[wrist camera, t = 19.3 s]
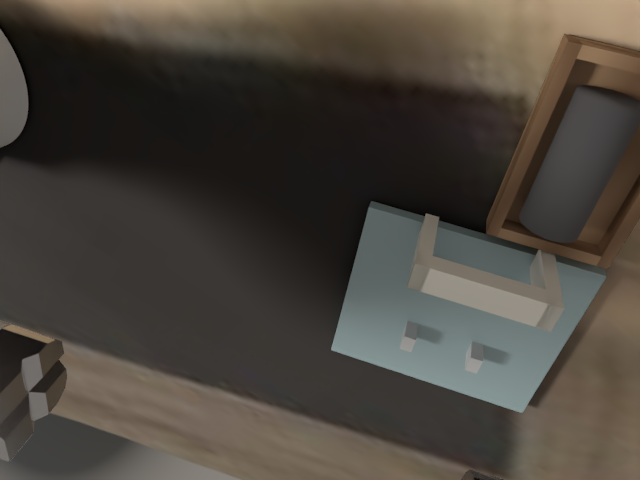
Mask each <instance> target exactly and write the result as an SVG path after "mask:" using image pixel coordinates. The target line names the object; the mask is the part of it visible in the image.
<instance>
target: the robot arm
mask: <svg viewBox="0 0 640 480" xmlns="http://www.w3.org/2000/svg"><path fill="white" fill-rule="evenodd" d="M27 115H28V92H27V86H26V82H25V78H24V74H23V71H22V68H21V66H20V63H19V61H18V58H17V56H16V54H15V52H14V50H13V48H12V47H11V45H10V43H9V41H8V40H7V38H6V37H5V35H4V34H3V32H2V31H1V29H0V148H1V147H3V146H6V145H8V144H10V143H11V142H13V141H14V140H15V139H16V138H17V137H18V136H19V135H20V133H21V132H22V130H23V128H24V126H25V123H26V120H27ZM63 354H64V350H63V345H62V341H59V340H56V339H53V338H50V337H47V336H44V335H41V334H38V333H36V332H33V331H30V330H27V329H24V328H21V327H18V326H15V325H12V324H9V323H6V322H3V321H0V459H2V460H5V461H9V462H10V461H11V460H12V458H13V457H14V456H15V454H16V453H17V452H18V451H19V450H20V448H21V447H22V446H23V445H24V444H25V442H26V441H27V440H28V439H29V438H30V436H31V435H32V434H33V433H34V421H35V420H37V419H39V418H41V417H43V416H45V415H47V414H49V413H50V412H51V411H52V409H53V408H54V407H55V405H56V404H57V403H58V401H59V399H60V397H61V395H62V393H63V391H64V389H65V385H66V380H67V373H66V368H65V367H64V365H63V364H62V363H61V362H60V360H59V358H60V357H61V356H62V355H63ZM461 480H503V479H500V478H496V477H493V476H490V475H486V474H483V473H480V472H476V471H473V470H469V471H467V472H466V473H465V474H464V476H463V478H462V479H461Z"/></svg>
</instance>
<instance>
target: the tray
mask: <svg viewBox="0 0 640 480" xmlns="http://www.w3.org/2000/svg"><path fill="white" fill-rule="evenodd" d="M581 85H590V86H598V87H603V88H607V89H611V90H614V91H617V92H620V93H623V94H626V95H628V96H631V97H633V98H635V99H637V100H639V101H640V52H639V51H634V50H630V49H626V48H622V47H618V46H613V45H609V44H605V43H601V42H597V41H592V40H588V39H584V38H580V37H576V36H571V35H567V34H564V36H563V38H562V41H561V43H560V46H559V48H558V50H557V53H556V55H555V58H554V60H553V62H552V65H551V67H550V69H549V72H548V74H547V77H546V79H545V81H544V84H543V86H542V88H541V91H540V93H539V96H538V98H537V100H536V103H535V105H534V107H533V110H532V112H531V115H530V117H529V119H528V122H527V124H526V127H525V129H524V131H523V134H522V136H521V138H520V141H519V143H518V146H517V148H516V150H515V153H514V155H513V157H512V160H511V162H510V165H509V167H508V169H507V172H506V174H505V177H504V179H503V181H502V184H501V186H500V188H499V191H498V193H497V196H496V198H495V200H494V203H493V205H492V207H491V210H490V212H489V215H488V217H487V219H486V234H488V235H491V236H495V237H498V238H502V239H505V240H509V241H512V242H515V243H519V244H522V245H526V246H529V247H533V248H536V249H540V250H543V251H546V252H550V253H553V254H557V255H560V256H564V257H567V258H571V259H574V260H577V261H581V262H584V263H588V264H591V265H595V266H598V267H602V268H605V269H608V268H609V267H610V265H611V263H612V262H613V260H614V259H615V257H616V255H617V254H618V252H619V250H620V249H621V247H622V246H623V244H624V242H625V241H626V239H627V237H628V236H629V234H630V233H631V231H632V229H633V228H634V226H635V224H636V223H637V221H638V220H639V218H640V124H639V126H638V128H637V130H636V132H635V134H634V135H633V137H632V139H631V141H630V143H629V145H628V146H627V148H626V150H625V152H624V154H623V156H622V158H621V159H620V161H619V163H618V165H617V167H616V169H615V171H614V172H613V174H612V176H611V178H610V180H609V182H608V184H607V185H606V187H605V189H604V191H603V193H602V195H601V196H600V198H599V200H598V202H597V204H596V206H595V208H594V209H593V211H592V213H591V215H590V217H589V219H588V221H587V222H586V224H585V226H584V228H583V230H582V232H581V233H580V235H579V237H578V239H577V240H576V241H574V242H570V243H561V242H555V241H551V240H548V239H545V238H542V237H540V236H538V235H536V234H534V233H533V232H531V231H530V230H528V229H527V228H526V227H525V226H524V225H523V224H522V223H521V221H520V219H519V215H520V212H521V210H522V208H523V206H524V203H525V201H526V199H527V197H528V194H529V192H530V190H531V188H532V186H533V183H534V181H535V179H536V177H537V174H538V172H539V170H540V168H541V166H542V163H543V161H544V159H545V157H546V154H547V152H548V150H549V148H550V145H551V143H552V141H553V139H554V137H555V134H556V132H557V130H558V128H559V125H560V123H561V121H562V119H563V117H564V114H565V112H566V110H567V108H568V105H569V103H570V101H571V99H572V96H573V94H574V92H575V90H576V88H577V87H578V86H581Z"/></svg>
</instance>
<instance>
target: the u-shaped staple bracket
mask: <svg viewBox="0 0 640 480" xmlns="http://www.w3.org/2000/svg"><path fill="white" fill-rule="evenodd" d="M438 221H439V217H437V216H434V215H430V214H427V213H426V215H425V218H424V221H423V224H422V227H421V230H420V233H419V236H418V240H417V245H416V249H415V254H414V258H413V263H412V267H411V272H410V276H409V281H408V285H407V288H410V289H414V290H417V291H420V292H423V293H427V294H430V295H433V296H436V297H440V298H443V299H446V300H449V301H453V302H456V303H459V304H462V305H466V306H469V307H472V308H475V309H478V310H482V311H485V312H488V313H491V314H495V315H498V316H501V317H504V318H508V319H511V320H514V321H517V322H521V323H524V324H527V325H530V326H534V327H537V328H540V329H543V330H547V331H550V332H551V331H552V329H553V328H554V326H555V324H556V322H557V321H558V319H559V317H560V316H561V314H562V312H563V311H564V304H563V298H562V292H561V287H560V281H559V275H558V269H557V264H556V258H555V254H553V253H550V252H546V251H543V250H540V249H539V250H538V252H537V254H536V256H535V258H534V260H533V262H532V264H531V266H530V279H531V285H529V284H525V283H522V282H519V281H515V280H512V279H509V278H505V277H502V276H499V275H495V274H492V273H489V272H485V271H482V270H479V269H475V268H472V267H469V266H465V265H462V264H458V263H455V262H452V261H448V260H445V259H442V258H438V257H435V256H433V250H434V244H435V239H436V233H437V227H438Z"/></svg>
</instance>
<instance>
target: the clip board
mask: <svg viewBox="0 0 640 480" xmlns="http://www.w3.org/2000/svg"><path fill="white" fill-rule="evenodd" d="M424 218H425V216H422V215H418V214H415V213H411V212H408V211H404V210H401V209H397V208H394V207H391V206H387V205H384V204H380V203H377V202H373V201H371V203H370V205H369V208H368V212H367V216H366V220H365V223H364V227H363V231H362V235H361V239H360V242H359V246H358V250H357V254H356V258H355V261H354V265H353V269H352V273H351V276H350V280H349V284H348V288H347V292H346V295H345V299H344V303H343V307H342V311H341V314H340V318H339V322H338V326H337V330H336V333H335V337H334V341H333V345H332V348H331V350H333V351H336V352H339V353H342V354H345V355H348V356H351V357H354V358H357V359H360V360H363V361H366V362H369V363H372V364H375V365H378V366H381V367H384V368H387V369H390V370H393V371H396V372H399V373H402V374H405V375H408V376H411V377H414V378H417V379H420V380H423V381H427V382H430V383H433V384H436V385H439V386H442V387H445V388H448V389H451V390H454V391H457V392H460V393H463V394H466V395H469V396H472V397H475V398H478V399H481V400H484V401H487V402H490V403H493V404H496V405H499V406H502V407H505V408H508V409H511V410H514V411H517V412H520V413H522V412H523V411H524V409H525V408H526V406H527V404H528V403H529V401H530V400H531V398H532V396H533V395H534V393H535V391H536V390H537V388H538V387H539V385H540V383H541V382H542V380H543V379H544V377H545V375H546V374H547V372H548V371H549V369H550V367H551V366H552V364H553V363H554V361H555V359H556V358H557V356H558V355H559V353H560V351H561V350H562V348H563V346H564V345H565V343H566V342H567V340H568V338H569V337H570V335H571V334H572V332H573V330H574V329H575V327H576V326H577V324H578V322H579V321H580V319H581V318H582V316H583V314H584V313H585V311H586V309H587V308H588V306H589V305H590V303H591V301H592V300H593V298H594V297H595V295H596V293H597V292H598V290H599V289H600V287H601V285H602V284H603V282H604V281H605V279H606V277H607V274H606V271H605V269H604V268H601V267H597V266H594V265H590V264H587V263H584V262H580V261H577V260H573V259H570V258H566V257H563V256H559V255H556V254H555V258H556V264H557V269H558V275H559V281H560V287H561V292H562V298H563V304H564V311H563V312H562V314H561V316H560V317H559V319H558V321H557V322H556V324H555V326H554V328H553V329H552V331H551V332H550V331H547V330H543V329H540V328H537V327H534V326H530V325H527V324H524V323H521V322H517V321H514V320H511V319H508V318H504V317H501V316H498V315H495V314H491V313H488V312H485V311H482V310H478V309H475V308H472V307H469V306H466V305H462V304H459V303H456V302H453V301H449V300H446V299H443V298H440V297H436V296H433V295H430V294H427V293H423V292H420V291H417V290H414V289H410V288H407V285H408V281H409V276H410V272H411V267H412V263H413V258H414V254H415V249H416V245H417V240H418V236H419V233H420V230H421V227H422V224H423V221H424ZM538 250H539V249H535V248H532V247H528V246H525V245H521V244H518V243H515V242H511V241H508V240H504V239H501V238H497V237H494V236H490V235H487V234H484V233H480V232H477V231H473V230H470V229H466V228H463V227H459V226H456V225H453V224H449V223H446V222H442V221H438V227H437V233H436V239H435V244H434V250H433V256H435V257H438V258H442V259H445V260H448V261H452V262H455V263H458V264H462V265H465V266H469V267H472V268H475V269H479V270H482V271H485V272H489V273H492V274H495V275H499V276H502V277H505V278H509V279H512V280H515V281H519V282H522V283H525V284H529V285H531V279H530V266H531V264H532V262H533V260H534V258H535V256H536V254H537V252H538Z"/></svg>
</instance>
